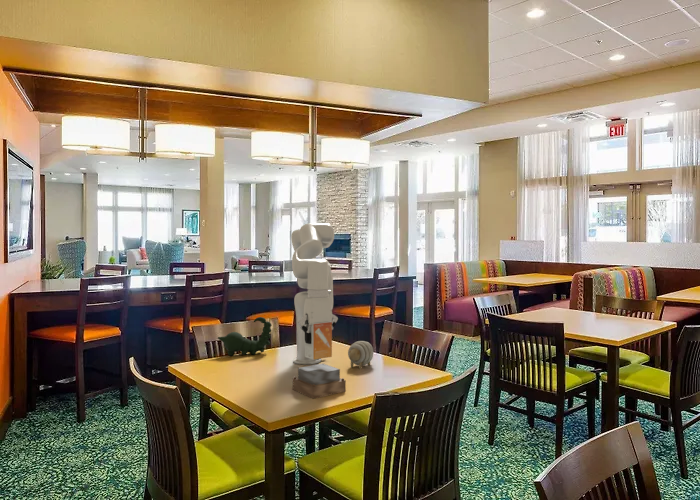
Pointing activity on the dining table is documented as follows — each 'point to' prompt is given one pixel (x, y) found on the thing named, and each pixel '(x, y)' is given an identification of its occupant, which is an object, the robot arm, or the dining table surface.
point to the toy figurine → (247, 340)
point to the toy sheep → (360, 353)
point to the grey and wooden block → (319, 381)
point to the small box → (319, 341)
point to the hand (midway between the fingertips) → (318, 341)
